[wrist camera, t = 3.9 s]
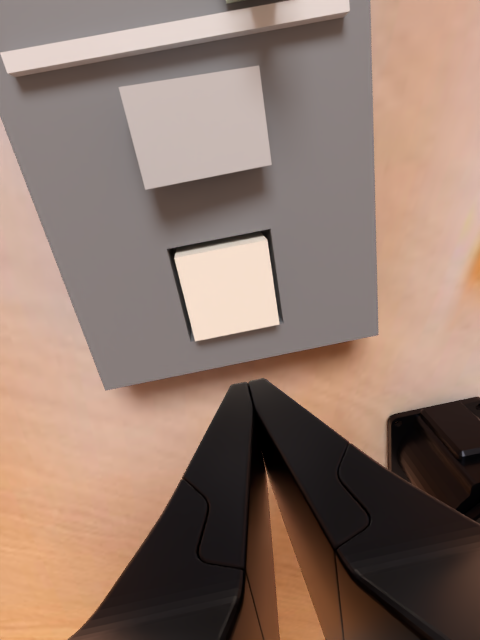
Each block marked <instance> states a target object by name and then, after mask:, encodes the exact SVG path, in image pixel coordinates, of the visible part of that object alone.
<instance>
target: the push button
mask: <svg viewBox="0 0 480 640" xmlns="http://www.w3.org/2000/svg"><path fill="white" fill-rule="evenodd" d="M174 259H175V263H176V267H177V271H178V275H179V279H180V283H181V287H182V291H183V295H184V299H185V303H186V307H187V311H188V315H189V319H190V323H191V327H192V331H193V335H194V339H195V341H200V340H205V339H210V338H215V337H220V336H225V335H230V334H235V333H240V332H245V331H250V330H255V329H260V328H264V327H269V326H274V325H279V317H278V310H277V303H276V297H275V290H274V283H273V276H272V269H271V262H270V255H269V248H268V241H267V239H266V238H265V237H264V235H263V234H262V233H261V232H260V231H257V232H252V233H247V234H241V235H236V236H231V237H226V238H221V239H216V240H211V241H206V242H200V243H195V244H190V245H185V246H180V247H177V249H176V253H175V257H174Z"/></svg>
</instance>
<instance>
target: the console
mask: <svg viewBox="0 0 480 640" xmlns="http://www.w3.org/2000/svg"><path fill="white" fill-rule="evenodd" d="M252 66H259V69H260V76H261V84H262V92H263V100H264V108H265V115H266V123H267V131H268V139H269V147H270V155H271V162H272V165H268V166H263V167H258V168H253V169H248V170H243V171H238V172H233V173H228V174H223V175H218V176H213V177H208V178H203V179H198V180H192V181H187V182H182V183H177V184H172V185H167V186H162V187H157V188H152V189H147V190H145V186H144V183H143V179H142V175H141V171H140V167H139V163H138V160H137V156H136V152H135V148H134V144H133V141H132V137H131V133H130V129H129V125H128V121H127V118H126V114H125V110H124V106H123V102H122V99H121V95H120V91H119V87H123V86H129V85H136V84H142V83H149V82H155V81H162V80H168V79H175V78H181V77H188V76H194V75H200V74H207V73H213V72H220V71H226V70H233V69H239V68H246V67H252ZM0 117H1V119H2V122H3V124H4V127H5V130H6V132H7V135H8V137H9V140H10V143H11V145H12V148H13V151H14V153H15V156H16V158H17V161H18V164H19V166H20V169H21V171H22V174H23V177H24V179H25V182H26V184H27V187H28V190H29V192H30V195H31V198H32V200H33V203H34V205H35V208H36V211H37V213H38V216H39V218H40V221H41V224H42V226H43V229H44V231H45V234H46V237H47V239H48V242H49V245H50V247H51V250H52V252H53V255H54V258H55V260H56V263H57V265H58V268H59V271H60V273H61V276H62V278H63V281H64V284H65V286H66V289H67V292H68V294H69V297H70V299H71V302H72V305H73V307H74V310H75V312H76V315H77V318H78V320H79V323H80V325H81V328H82V331H83V333H84V336H85V339H86V341H87V344H88V346H89V349H90V352H91V354H92V357H93V359H94V362H95V365H96V367H97V370H98V372H99V375H100V378H101V380H102V383H103V385H104V388H105V390H110V389H115V388H120V387H125V386H130V385H135V384H140V383H145V382H150V381H155V380H160V379H164V378H169V377H174V376H179V375H184V374H189V373H194V372H199V371H204V370H209V369H214V368H219V367H224V366H228V365H233V364H238V363H243V362H248V361H253V360H258V359H263V358H268V357H273V356H278V355H283V354H288V353H292V352H297V351H302V350H307V349H312V348H317V347H322V346H327V345H332V344H337V343H342V342H347V341H352V340H356V339H361V338H366V337H371V336H376V335H378V300H377V260H376V219H375V178H374V137H373V96H372V56H371V15H370V0H245V1H239V2H234V3H228V4H226V0H0ZM257 231H260V232H261V233H262V234H263V235H264V237H265V238H266V239H267V241H268V248H269V255H270V262H271V269H272V276H273V283H274V290H275V297H276V303H277V310H278V317H279V325H274V326H269V327H264V328H260V329H255V330H250V331H245V332H240V333H235V334H230V335H225V336H220V337H215V338H210V339H205V340H200V341H195V339H194V335H193V331H192V327H191V323H190V319H189V315H188V311H187V307H186V303H185V299H184V295H183V291H182V287H181V283H180V279H179V275H178V271H177V267H176V263H175V259H174V257H175V253H176V249H177V247H180V246H185V245H190V244H195V243H200V242H206V241H211V240H216V239H221V238H226V237H231V236H236V235H241V234H247V233H252V232H257Z"/></svg>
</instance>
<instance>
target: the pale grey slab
mask: <svg viewBox="0 0 480 640" xmlns="http://www.w3.org/2000/svg"><path fill="white" fill-rule="evenodd" d="M119 91H120V95H121V99H122V102H123V106H124V110H125V114H126V118H127V121H128V125H129V129H130V133H131V137H132V141H133V144H134V148H135V152H136V156H137V160H138V163H139V167H140V171H141V175H142V179H143V183H144V186H145V190H147V189H152V188H157V187H162V186H167V185H172V184H177V183H182V182H187V181H192V180H198V179H203V178H208V177H213V176H218V175H223V174H228V173H233V172H238V171H243V170H248V169H253V168H258V167H263V166H268V165H272V162H271V155H270V147H269V139H268V131H267V123H266V115H265V108H264V100H263V92H262V84H261V76H260V69H259V66H252V67H246V68H239V69H233V70H226V71H220V72H213V73H207V74H200V75H194V76H188V77H181V78H175V79H168V80H162V81H155V82H149V83H142V84H136V85H129V86H123V87H119Z"/></svg>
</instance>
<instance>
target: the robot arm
mask: <svg viewBox="0 0 480 640" xmlns="http://www.w3.org/2000/svg"><path fill="white" fill-rule="evenodd" d="M248 385H249V386H248ZM396 421H398V422H396ZM395 422H396V423H395ZM388 447H389V470H388V469H387V468H385V467H383V466H382V465H381V464H379V463H378V462H376V461H375V460H373V459H372V458H371V457H369V456H368V455H366V454H365V453H364V452H362V451H361V450H360V449H358V448H357V447H356V446H354V445H353V444H350V443H349V441H347V440H346V439H345V438H343V437H342V436H341V435H339V434H338V433H337V432H335V431H334V430H333V429H331V428H330V427H329V426H327V425H326V424H325V423H323V422H322V421H321V420H319V419H318V418H317V417H315V416H314V415H313V414H311V413H310V412H309V411H307V410H306V409H305V408H303V407H302V406H301V405H299V404H298V403H297V402H295V401H294V400H293V399H291V398H290V397H289V396H287V395H286V394H285V393H284V392H282V391H281V390H280V389H278V388H277V387H276V386H274V385H273V384H272V383H270V382H269V381H268V380H266V379H264V378H261V379H257V380H252V381H249V383H247V382H242V383H237V384H233V385H231V386H230V388H229V390H228V392H227V393H226V395H225V397H224V399H223V401H222V403H221V405H220V407H219V409H218V411H217V412H216V414H215V416H214V418H213V420H212V422H211V424H210V426H209V428H208V430H207V431H206V433H205V435H204V437H203V439H202V441H201V443H200V445H199V447H198V448H197V450H196V452H195V454H194V456H193V458H192V460H191V462H190V464H189V466H188V467H187V469H186V471H185V473H184V475H183V477H182V480H180V482H179V484H178V486H177V488H176V490H175V492H174V494H173V495H172V497H171V499H170V501H169V502H168V504H167V506H166V508H165V509H164V511H163V513H162V515H161V516H160V518H159V519H158V521H157V522H156V524H155V525H154V527H153V528H152V530H151V532H150V533H149V535H148V536H147V538H146V539H145V541H144V542H143V544H142V545H141V546H140V548H139V549H138V551H137V552H136V554H135V555H134V557H133V558H132V560H131V561H130V563H129V564H128V565H127V567H126V568H125V570H124V571H123V573H122V574H121V576H120V577H119V579H118V580H117V582H116V583H115V584H114V586H113V587H112V589H111V590H110V592H109V593H108V595H107V596H106V598H105V599H104V600H103V602H102V603H101V605H100V606H99V607H98V609H97V610H96V611H95V612H94V614H93V615H92V616H91V617H90V618H89V620H88V621H87V622H86V623H85V624H84V625H83V626H82V627H81V628H80V629H79V630H78V631H77V632H76V633H75V634H74V635H72V636H71V637H70V638H69V639H68V640H280V636H279V623H278V611H277V598H276V586H275V574H274V561H273V549H272V537H271V524H270V512H269V499H268V487H267V477H266V471H267V474H268V477H269V481H270V483H271V486H272V489H273V492H274V495H275V498H276V500H277V503H278V506H279V509H280V512H281V515H282V517H283V520H284V523H285V526H286V529H287V532H288V534H289V537H290V540H291V543H292V546H293V549H294V551H295V554H296V557H297V560H298V563H299V566H300V568H301V571H302V574H303V577H304V580H305V583H306V585H307V588H308V591H309V594H310V597H311V599H312V602H313V605H314V608H315V611H316V614H317V616H318V619H319V622H320V625H321V628H322V631H323V633H324V636H325V639H326V640H480V397H474V398H469V399H464V400H459V401H454V402H450V403H445V404H440V405H435V406H431V407H426V408H421V409H416V410H411V411H407V412H402V413H397V414H394V415H392V416H390V418H389V420H388ZM262 453H263V454H262ZM263 458H264V459H263ZM264 463H265V464H264ZM265 467H266V470H265Z"/></svg>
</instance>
